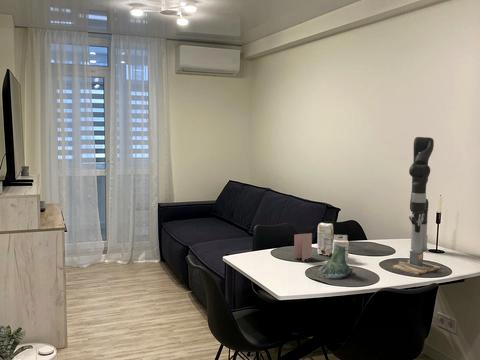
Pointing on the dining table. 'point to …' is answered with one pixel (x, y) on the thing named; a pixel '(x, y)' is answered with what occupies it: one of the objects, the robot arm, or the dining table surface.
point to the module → (416, 258)
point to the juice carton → (325, 239)
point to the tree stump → (336, 264)
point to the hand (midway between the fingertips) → (417, 232)
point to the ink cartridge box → (342, 243)
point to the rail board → (415, 267)
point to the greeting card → (303, 246)
